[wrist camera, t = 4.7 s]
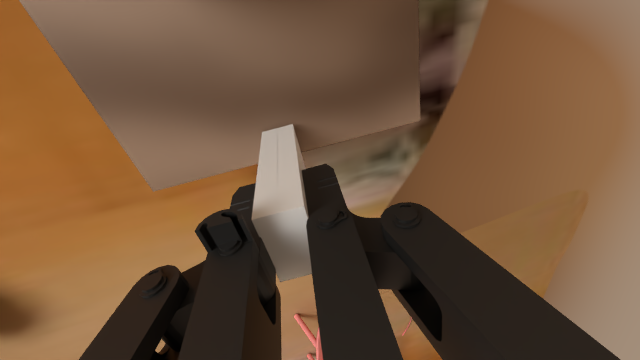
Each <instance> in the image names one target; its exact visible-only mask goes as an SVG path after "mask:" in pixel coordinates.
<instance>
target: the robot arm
mask: <svg viewBox="0 0 640 360" xmlns="http://www.w3.org/2000/svg"><path fill="white" fill-rule="evenodd" d="M195 233H196V234H197V236H198V237H199V239H200V241H201V242H202V244H203V245H204V247H205V249H206V250H207V252H208V254H207V257H206V260H205V261H203V262H202V263H200V264H198V265H196V266H194V267H192V268H190V269H188V270H186V271H184V272H182V273H181V272H180V271H179V269H177V268H176V267H175V266H171V265H166V266H162V267H158V268H156V269H154V270H152V271H150V272H149V273H147V274H146V275H145V276H143V277H142V278H141V279H140V280H139V281H138V282H137V283H136V284H135V285H134V286H133V287H132V289H131V290H130V291H129V293H128V294H127V295H126V297H125V298H124V299H123V301H122V302H121V303H120V305H119V306H118V308H117V309H116V310H115V312H114V313H113V314H112V316H111V317H110V318H109V320H108V321H107V322H106V324H105V325H104V326H103V328H102V329H101V330H100V332H99V333H98V334H97V336H96V337H95V338H94V340H93V341H92V342H91V344H90V345H89V347H88V348H87V349H86V351H85V352H84V353H83V355H82V356H81V357H80V359H79V360H281V299H280V293H279V290H278V288H277V286H276V274H277V276H278V278H279V280H280V282H283V281H286V280H290V279H294V278H298V277H302V276H306V275H310V274H312V277H313V285H314V292H315V300H316V308H317V316H318V324H319V332H320V340H321V347H322V355H323V360H403V358H402V355H401V352H400V350H399V347H398V344H397V341H396V338H395V335H394V333H393V330H392V327H391V324H390V321H389V319H388V316H387V313H386V310H385V307H384V305H383V302H382V299H381V296H380V293H379V290H378V289H392V291H393V293H394V294H395V296H396V297H397V298H398V300H399V301H400V302H401V304H402V305H403V306H404V308H405V309H406V310H407V312H408V313H409V315H410V316H411V317H412V319H413V320H414V321H415V323H416V324H417V325H418V327H419V328H420V329H421V331H422V332H423V334H424V335H425V336H426V338H427V339H428V340H429V342H430V343H431V344H432V346H433V347H434V348H435V350H436V351H437V353H438V354H439V355H440V357H441V358H442V359H443V360H620V359H619V358H618V357H616V356H615V355H614V354H613V353H611V352H610V351H609V350H607V349H606V348H605V347H604V346H602V345H601V344H600V343H599V342H597V341H596V340H595V339H594V338H592V337H591V336H590V335H588V334H587V333H586V332H585V331H583V330H582V329H581V328H580V327H578V326H577V325H576V324H574V323H573V322H572V321H571V320H569V319H568V318H567V317H566V316H564V315H563V314H562V313H560V312H559V311H558V310H557V309H555V308H554V307H553V306H551V305H550V304H549V303H548V302H546V301H545V300H544V299H543V298H541V297H540V296H539V295H537V294H536V293H535V292H534V291H532V290H531V289H530V288H529V287H527V286H526V285H525V284H523V283H522V282H521V281H520V280H518V279H517V278H516V277H514V276H513V275H512V274H511V273H509V272H508V271H507V270H506V269H504V268H503V267H502V266H500V265H499V264H498V263H497V262H495V261H494V260H493V259H492V258H490V257H489V256H488V255H486V254H485V253H484V252H483V251H481V250H480V249H479V248H477V247H476V246H475V245H474V244H472V243H471V242H470V241H469V240H467V239H466V238H465V237H463V236H462V235H461V234H460V233H458V232H457V231H456V230H455V229H453V228H452V227H451V226H449V225H448V224H447V223H445V222H444V221H443V220H442V219H440V218H439V217H438V216H437V215H435V214H434V213H433V212H432V211H430V210H429V209H428V208H426V207H424V206H422V205H420V204H416V203H411V202H410V203H409V202H408V203H398V204H395V205H392V206H390V207H389V208H387V209H386V210H385V211H384V212H383V214H382V215H381V218H364V217H360V216H357V215H355V214H353V213H351V212H350V211H349V210H348V208H347V206H346V203H345V201H344V198H343V195H342V192H341V189H340V186H339V184H338V181H337V178H336V175H335V172H334V169H333V168H331V167H330V166H329V165H327V164H323V165H319V166H315V167H312V168H308V169H306V168H305V164H304V161H303V157H302V154H301V150H300V147H299V144H298V140H297V137H296V133H295V130H294V126H293V124H291V125H287V126H283V127H280V128H276V129H272V130H268V131H264V132H262V137H261V146H260V154H259V162H258V170H257V178H256V183H254V184H250V185H247V186H243V187H239V189H238V190H237V191H236V193H235V194H234V195H233V197H232V201H231V206H230V209H226V210H221V211H219V212H216V213H213V214H212V215H210V216H208V217H207V218H205V219H204V220H203V221H202V222H201V223H200V224H199V225H198V226H197V228H196V230H195ZM161 339H162V340H163V341H164V342H165V343H166V344H165V346H164V347H163V349H162V350H161V351H160V352H159V353H157V352H156V351H155V349H156V347H157V346H158V344H159V342H160V340H161Z"/></svg>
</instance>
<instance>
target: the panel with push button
mask: <svg viewBox="0 0 640 360" xmlns="http://www.w3.org/2000/svg"><path fill="white" fill-rule="evenodd" d="M19 1H20V2H21V4H22V5H23V7H24V8H25V9H26V11H27V12H28V14H29V15H30V17H31V18H32V19H33V21H34V22H35V24H36V25H37V27H38V28H39V29H40V31H41V32H42V34H43V35H44V36H45V38H46V39H47V41H48V42H49V44H50V45H51V46H52V48H53V49H54V51H55V52H56V54H57V55H58V56H59V58H60V59H61V61H62V62H63V64H64V65H65V66H66V68H67V69H68V71H69V72H70V73H71V75H72V76H73V78H74V79H75V81H76V82H77V83H78V85H79V86H80V88H81V89H82V91H83V92H84V93H85V95H86V96H87V98H88V99H89V101H90V102H91V103H92V105H93V106H94V108H95V109H96V110H97V112H98V113H99V115H100V116H101V118H102V119H103V120H104V122H105V123H106V125H107V126H108V128H109V129H110V130H111V132H112V133H113V135H114V136H115V138H116V139H117V140H118V142H119V143H120V145H121V146H122V147H123V149H124V150H125V152H126V153H127V155H128V156H129V157H130V159H131V160H132V162H133V163H134V165H135V166H136V167H137V169H138V170H139V172H140V173H141V175H142V176H143V177H144V179H145V180H146V182H147V183H148V184H149V186H150V187H151V189H152V190H153V191H157V190H161V189H165V188H168V187H172V186H176V185H180V184H184V183H187V182H191V181H195V180H199V179H202V178H206V177H210V176H214V175H218V174H221V173H225V172H229V171H233V170H236V169H240V168H244V167H248V166H252V165H255V164H258V162H259V154H260V146H261V137H262V132H264V131H268V130H272V129H276V128H280V127H283V126H287V125H291V124H293V126H294V130H295V133H296V137H297V140H298V144H299V147H300V150H301V152H304V151H308V150H312V149H316V148H319V147H323V146H327V145H331V144H335V143H338V142H342V141H346V140H350V139H353V138H357V137H361V136H365V135H369V134H372V133H376V132H380V131H384V130H387V129H391V128H395V127H399V126H403V125H406V124H410V123H414V122H418V121H420V74H419V11H418V0H19Z"/></svg>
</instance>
